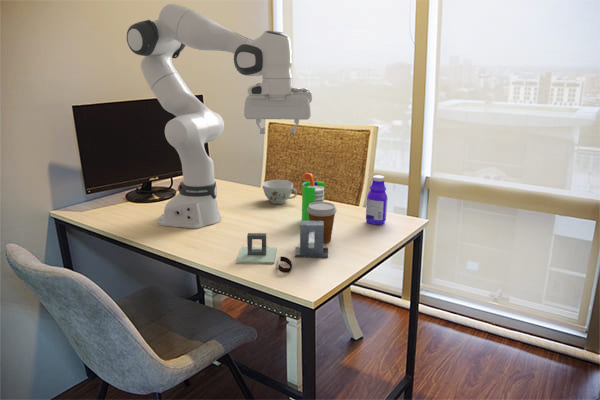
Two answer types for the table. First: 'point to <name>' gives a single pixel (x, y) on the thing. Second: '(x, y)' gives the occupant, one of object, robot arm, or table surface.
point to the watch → (282, 269)
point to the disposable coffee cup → (323, 217)
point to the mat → (257, 256)
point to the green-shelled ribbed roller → (311, 194)
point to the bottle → (377, 201)
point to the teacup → (278, 190)
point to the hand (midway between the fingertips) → (277, 133)
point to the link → (257, 251)
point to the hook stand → (311, 240)
